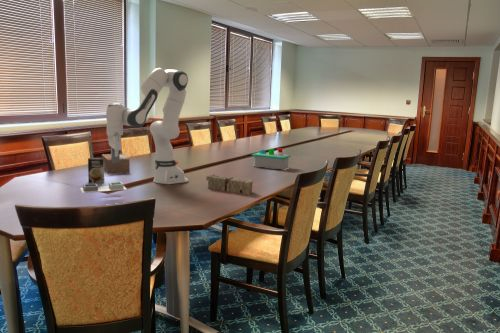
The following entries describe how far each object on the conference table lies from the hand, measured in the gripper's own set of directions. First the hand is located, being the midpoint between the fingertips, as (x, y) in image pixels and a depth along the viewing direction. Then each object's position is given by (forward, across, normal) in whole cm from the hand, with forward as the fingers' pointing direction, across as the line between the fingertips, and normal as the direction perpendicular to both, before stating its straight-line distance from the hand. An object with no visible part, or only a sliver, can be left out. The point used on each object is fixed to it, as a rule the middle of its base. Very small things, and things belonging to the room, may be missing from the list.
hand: (115, 155), depth 238 cm
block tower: (+21, -22, -63) cm, 70 cm away
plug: (+4, 0, 0) cm, 4 cm away
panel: (+20, 0, +7) cm, 22 cm away
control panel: (+21, +37, -128) cm, 135 cm away
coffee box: (+21, +20, +8) cm, 30 cm away
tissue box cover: (+21, +63, -11) cm, 67 cm away
